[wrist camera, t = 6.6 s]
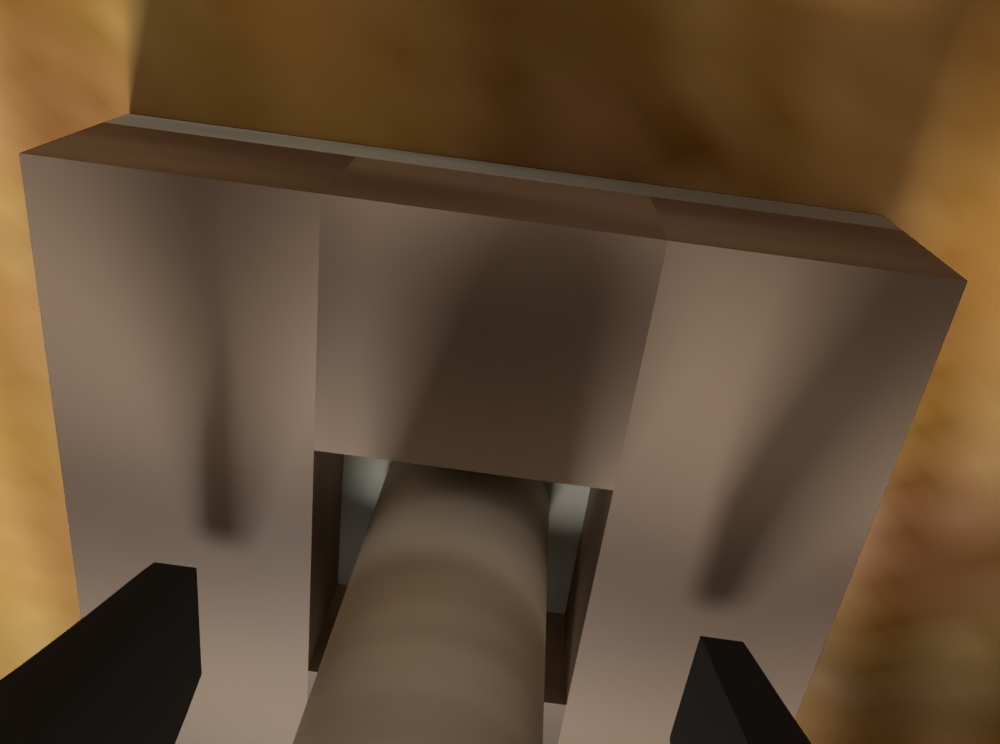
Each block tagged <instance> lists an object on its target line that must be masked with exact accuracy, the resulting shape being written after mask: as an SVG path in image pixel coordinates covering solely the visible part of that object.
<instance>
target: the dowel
mask: <svg viewBox="0 0 1000 744" xmlns="http://www.w3.org/2000/svg"><path fill="white" fill-rule="evenodd" d="M548 533H549V493H548V489H547V485H546V482H545V481H540V480H532V479H525V478H517V477H510V476H502V475H495V474H487V473H480V472H472V471H465V470H457V469H450V468H442V467H435V466H427V465H420V464H412V463H405V462H397V461H393V463H392V464H391V466H390V468H389V470H388V472H387V475H386V478H385V480H384V483H383V486H382V489H381V492H380V495H379V498H378V501H377V503H376V506H375V509H374V512H373V515H372V518H371V521H370V523H369V526H368V529H367V532H366V535H365V538H364V541H363V544H362V546H361V549H360V552H359V555H358V558H357V561H356V564H355V566H354V569H353V572H352V575H351V578H350V581H349V584H348V586H347V589H346V592H345V595H344V598H343V601H342V604H341V607H340V609H339V612H338V615H337V618H336V621H335V624H334V627H333V629H332V632H331V635H330V638H329V641H328V644H327V647H326V650H325V652H324V655H323V658H322V661H321V664H320V667H319V670H318V672H317V675H316V678H315V681H314V684H313V687H312V690H311V692H310V695H309V698H308V701H307V704H306V707H305V710H304V713H303V715H302V718H301V721H300V724H299V727H298V730H297V733H296V735H295V738H294V741H293V744H543V720H544V683H545V645H546V608H547V570H548Z"/></svg>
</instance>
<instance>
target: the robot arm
mask: <svg viewBox="0 0 1000 744" xmlns="http://www.w3.org/2000/svg"><path fill="white" fill-rule="evenodd" d="M201 675H202V670H201V649H200V628H199V607H198V587H197V568H194V567H187V566H179V565H172V564H164V563H157V562H154V563H152V564H151V565H149V566H148V567H147V568H145V569H144V570H143V571H142V572H140V573H139V574H138V575H136V576H135V577H134V578H133V579H131V580H130V581H129V582H127V583H126V584H125V585H124V586H122V587H121V588H120V589H119V590H117V591H116V592H115V593H114V594H112V595H111V596H110V597H109V598H107V599H106V600H105V601H104V602H102V603H101V604H100V605H99V606H97V607H96V608H95V609H94V610H92V611H91V612H90V613H89V614H87V615H86V616H85V617H83V618H82V619H81V620H80V621H78V622H77V623H76V624H75V625H73V626H72V627H71V628H70V629H68V630H67V631H66V632H64V633H63V634H62V635H60V636H59V637H58V638H56V639H55V640H54V641H52V642H51V643H50V644H48V645H47V646H46V647H44V648H43V649H42V650H41V651H39V652H38V653H37V654H35V655H34V656H33V657H31V658H30V659H29V660H27V661H26V662H25V663H23V664H22V665H21V666H19V667H18V668H17V669H15V670H14V671H12V672H11V673H10V674H8V675H7V676H5V677H4V678H3V679H1V680H0V744H175V742H176V740H177V737H178V735H179V732H180V730H181V727H182V725H183V722H184V720H185V717H186V715H187V712H188V710H189V707H190V704H191V702H192V699H193V696H194V693H195V691H196V688H197V685H198V683H199V680H200V677H201ZM670 744H811V742H810V741H809V739H808V738H807V736H806V735H805V734H804V732H803V731H802V729H801V728H800V726H799V725H798V723H797V722H796V720H795V719H794V717H793V716H792V714H791V713H790V711H789V710H788V708H787V707H786V705H785V704H784V703H783V701H782V700H781V698H780V696H779V695H778V693H777V692H776V690H775V689H774V687H773V686H772V684H771V683H770V681H769V680H768V678H767V677H766V675H765V674H764V672H763V671H762V669H761V667H760V666H759V664H758V663H757V661H756V660H755V658H754V657H753V655H752V654H751V652H750V651H749V649H748V648H747V646H746V645H745V644H744V642H742V641H734V640H727V639H719V638H712V637H705V636H700V639H699V642H698V645H697V649H696V652H695V655H694V658H693V662H692V665H691V668H690V672H689V675H688V678H687V682H686V685H685V688H684V692H683V695H682V698H681V702H680V705H679V708H678V712H677V715H676V718H675V722H674V725H673V728H672V731H671V735H670Z"/></svg>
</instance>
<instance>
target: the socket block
mask: <svg viewBox="0 0 1000 744" xmlns="http://www.w3.org/2000/svg"><path fill="white" fill-rule="evenodd" d="M19 155H20V163H21V170H22V178H23V185H24V193H25V200H26V208H27V215H28V223H29V230H30V238H31V245H32V253H33V260H34V268H35V275H36V283H37V290H38V298H39V305H40V313H41V320H42V328H43V335H44V343H45V350H46V358H47V365H48V373H49V380H50V388H51V395H52V403H53V410H54V418H55V425H56V433H57V440H58V448H59V455H60V463H61V470H62V478H63V485H64V493H65V500H66V508H67V515H68V523H69V530H70V538H71V545H72V553H73V560H74V568H75V575H76V583H77V590H78V598H79V605H80V613H81V619H82V618H83V617H85V616H86V615H87V614H89V613H90V612H91V611H92V610H94V609H95V608H96V607H97V606H99V605H100V604H101V603H102V602H104V601H105V600H106V599H107V598H109V597H110V596H111V595H112V594H114V593H115V592H116V591H117V590H119V589H120V588H121V587H122V586H124V585H125V584H126V583H127V582H129V581H130V580H131V579H133V578H134V577H135V576H136V575H138V574H139V573H140V572H142V571H143V570H144V569H145V568H147V567H148V566H149V565H151V564H152V563H154V562H157V563H164V564H172V565H179V566H187V567H194V568H197V587H198V607H199V628H200V649H201V670H202V675H201V677H200V680H199V683H198V685H197V688H196V691H195V693H194V696H193V699H192V702H191V704H190V707H189V710H188V712H187V715H186V717H185V720H184V722H183V725H182V727H181V730H180V732H179V735H178V737H177V740H176V742H175V744H293V741H294V738H295V735H296V733H297V730H298V727H299V724H300V721H301V718H302V715H303V713H304V710H305V707H306V704H307V701H308V698H309V695H310V692H311V690H312V687H313V684H314V681H315V678H316V675H317V672H318V670H319V667H320V664H321V661H322V658H323V655H324V652H325V650H326V647H327V644H328V641H329V638H330V635H331V632H332V629H333V627H334V624H335V621H336V618H337V615H338V612H339V609H340V607H341V604H342V601H343V598H344V595H345V592H346V589H347V586H348V584H349V581H350V578H351V575H352V572H353V569H354V566H355V564H356V561H357V558H358V555H359V552H360V549H361V546H362V544H363V541H364V538H365V535H366V532H367V529H368V526H369V523H370V521H371V518H372V515H373V512H374V509H375V506H376V503H377V501H378V498H379V495H380V492H381V489H382V486H383V483H384V480H385V478H386V475H387V472H388V470H389V468H390V466H391V464H392V463H393V461H397V462H405V463H412V464H420V465H427V466H435V467H442V468H450V469H457V470H465V471H472V472H480V473H487V474H495V475H502V476H510V477H517V478H525V479H532V480H540V481H545V482H546V485H547V489H548V493H549V533H548V570H547V608H546V645H545V683H544V720H543V744H670V735H671V731H672V728H673V725H674V722H675V718H676V715H677V712H678V708H679V705H680V702H681V698H682V695H683V692H684V688H685V685H686V682H687V678H688V675H689V672H690V668H691V665H692V662H693V658H694V655H695V652H696V649H697V645H698V642H699V639H700V636H705V637H712V638H719V639H727V640H734V641H742V642H744V644H745V645H746V646H747V648H748V649H749V651H750V652H751V654H752V655H753V657H754V658H755V660H756V661H757V663H758V664H759V666H760V667H761V669H762V671H763V672H764V674H765V675H766V677H767V678H768V680H769V681H770V683H771V684H772V686H773V687H774V689H775V690H776V692H777V693H778V695H779V696H780V698H781V700H782V701H783V703H784V704H785V705H786V707H787V708H788V710H789V711H790V713H791V714H792V716H793V717H794V719H795V718H796V715H797V713H798V710H799V708H800V705H801V703H802V700H803V698H804V695H805V692H806V690H807V687H808V685H809V682H810V680H811V677H812V675H813V672H814V670H815V667H816V665H817V662H818V660H819V657H820V654H821V652H822V649H823V647H824V644H825V642H826V639H827V637H828V634H829V632H830V629H831V627H832V624H833V621H834V619H835V616H836V614H837V611H838V609H839V606H840V604H841V601H842V599H843V596H844V594H845V591H846V588H847V586H848V583H849V581H850V578H851V576H852V573H853V571H854V568H855V566H856V563H857V561H858V558H859V555H860V553H861V550H862V548H863V545H864V543H865V540H866V538H867V535H868V533H869V530H870V528H871V525H872V522H873V520H874V517H875V515H876V512H877V510H878V507H879V505H880V502H881V500H882V497H883V495H884V492H885V490H886V487H887V484H888V482H889V479H890V477H891V474H892V472H893V469H894V467H895V464H896V462H897V459H898V457H899V454H900V451H901V449H902V446H903V444H904V441H905V439H906V436H907V434H908V431H909V429H910V426H911V424H912V421H913V418H914V416H915V413H916V411H917V408H918V406H919V403H920V401H921V398H922V396H923V393H924V391H925V388H926V385H927V383H928V380H929V378H930V375H931V373H932V370H933V368H934V365H935V363H936V360H937V358H938V355H939V352H940V350H941V347H942V345H943V342H944V340H945V337H946V335H947V332H948V330H949V327H950V325H951V322H952V319H953V317H954V314H955V312H956V309H957V307H958V304H959V302H960V299H961V297H962V294H963V292H964V289H965V287H966V284H967V280H966V279H964V278H963V277H962V276H960V275H959V274H958V273H957V272H955V271H954V270H953V269H951V268H950V267H949V266H948V265H946V264H945V263H944V262H942V261H941V260H940V259H939V258H937V257H936V256H935V255H933V254H932V253H931V252H929V251H928V250H927V249H926V248H924V247H923V246H922V245H920V244H919V243H918V242H917V241H915V240H914V239H913V238H911V237H910V236H909V235H908V234H906V233H905V232H904V231H902V230H901V229H900V228H899V227H897V226H896V225H895V224H893V223H892V222H891V221H889V220H888V219H887V218H886V217H884V216H882V215H875V214H867V213H860V212H853V211H845V210H838V209H830V208H823V207H816V206H808V205H801V204H793V203H786V202H779V201H771V200H764V199H756V198H749V197H742V196H734V195H727V194H719V193H712V192H705V191H697V190H690V189H682V188H675V187H668V186H660V185H653V184H645V183H638V182H631V181H623V180H616V179H609V178H601V177H594V176H586V175H579V174H572V173H564V172H557V171H549V170H542V169H535V168H527V167H520V166H512V165H505V164H498V163H490V162H483V161H475V160H468V159H461V158H453V157H446V156H438V155H431V154H424V153H416V152H409V151H401V150H394V149H387V148H379V147H372V146H364V145H357V144H350V143H342V142H335V141H327V140H320V139H313V138H305V137H298V136H290V135H283V134H276V133H268V132H261V131H253V130H246V129H239V128H231V127H224V126H216V125H209V124H202V123H194V122H187V121H179V120H172V119H165V118H157V117H150V116H142V115H135V114H125V115H122V116H120V117H117V118H114V119H111V120H109V121H106V122H103V123H100V124H98V125H95V126H92V127H89V128H87V129H84V130H81V131H78V132H76V133H73V134H70V135H68V136H65V137H62V138H59V139H57V140H54V141H51V142H48V143H46V144H43V145H40V146H37V147H35V148H32V149H29V150H26V151H24V152H21V153H19Z"/></svg>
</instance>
